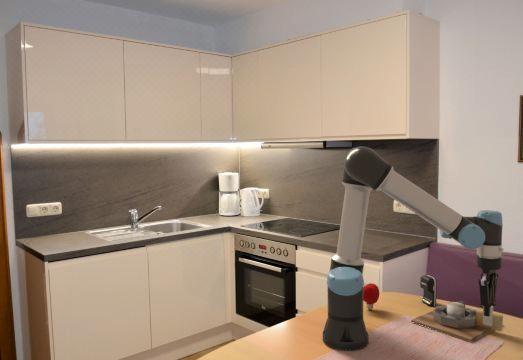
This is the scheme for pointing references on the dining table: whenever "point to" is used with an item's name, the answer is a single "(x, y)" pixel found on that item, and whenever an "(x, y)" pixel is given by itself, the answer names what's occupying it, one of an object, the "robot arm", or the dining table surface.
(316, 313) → the dining table surface
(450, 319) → the ring nut
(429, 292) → the battery charger
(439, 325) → the mount plate
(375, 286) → the light bulb
